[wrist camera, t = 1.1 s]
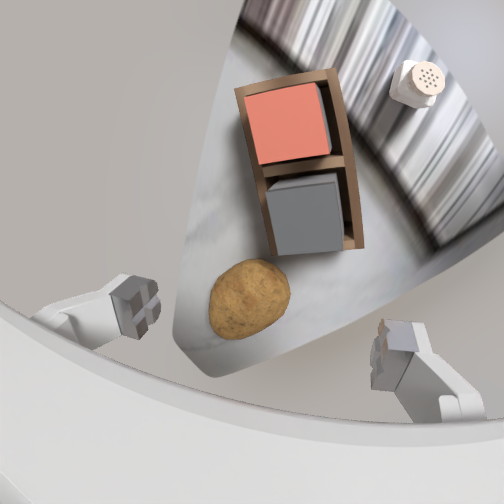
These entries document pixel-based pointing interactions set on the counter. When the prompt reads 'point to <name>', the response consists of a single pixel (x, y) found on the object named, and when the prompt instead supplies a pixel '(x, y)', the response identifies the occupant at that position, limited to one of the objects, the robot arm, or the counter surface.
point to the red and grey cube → (288, 123)
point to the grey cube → (306, 214)
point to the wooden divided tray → (327, 163)
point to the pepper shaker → (417, 84)
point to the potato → (248, 299)
